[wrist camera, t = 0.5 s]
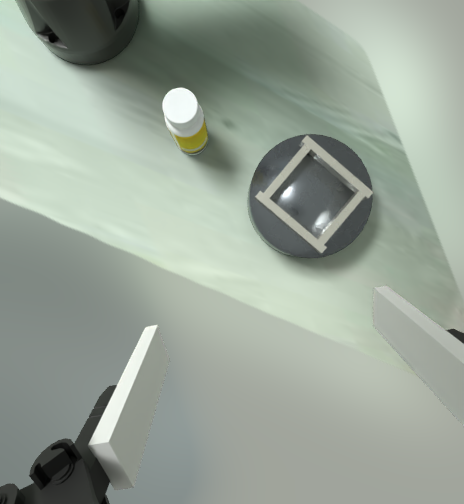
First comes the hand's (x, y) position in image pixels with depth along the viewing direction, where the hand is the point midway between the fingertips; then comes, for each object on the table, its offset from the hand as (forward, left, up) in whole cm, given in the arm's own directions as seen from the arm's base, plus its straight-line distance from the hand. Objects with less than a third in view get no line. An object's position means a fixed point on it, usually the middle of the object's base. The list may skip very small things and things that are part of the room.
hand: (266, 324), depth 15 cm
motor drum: (-8, +12, -21) cm, 25 cm away
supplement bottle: (-22, 0, -21) cm, 30 cm away
